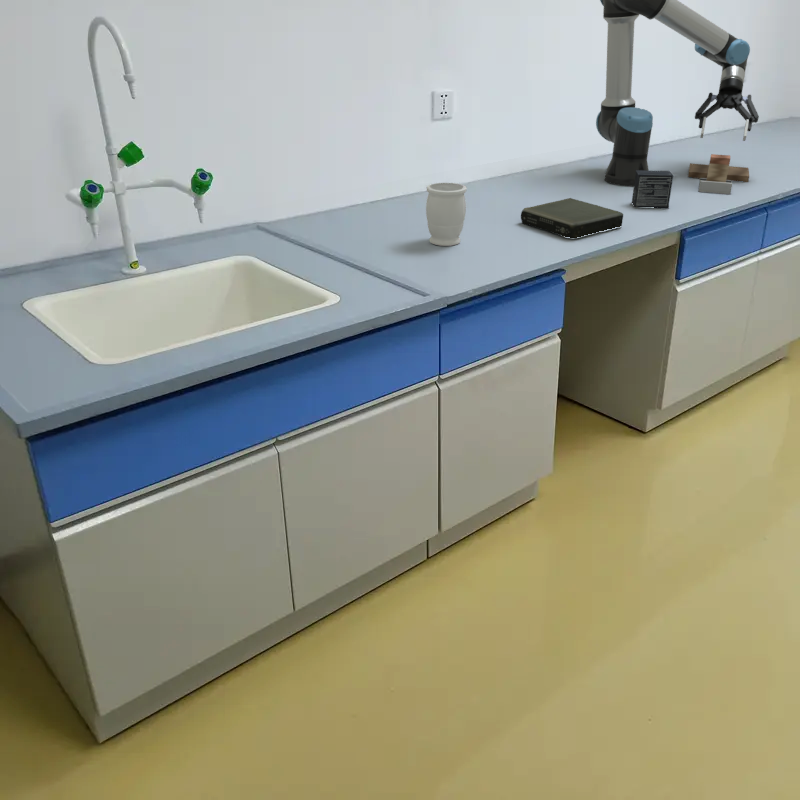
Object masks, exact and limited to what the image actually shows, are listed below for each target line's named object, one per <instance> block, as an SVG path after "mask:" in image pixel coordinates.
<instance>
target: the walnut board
mask: <svg viewBox="0 0 800 800" xmlns="http://www.w3.org/2000/svg"><path fill="white" fill-rule="evenodd" d="M708 169H709V164H702V163H689V167H688V174H687V178H688V177H692V178H691V179H700V178H707V174H708ZM749 179H750V171H749V167H744V166H743V167H741V166H731V165H729V169H728V174H727V179H726V180H732V182H739V181H743V183H749Z"/></svg>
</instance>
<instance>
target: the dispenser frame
mask: <svg viewBox="0 0 800 800" xmlns="http://www.w3.org/2000/svg"><path fill="white" fill-rule="evenodd" d="M706 180H707V178H699V184H698V192H699V193H709V194H710V193H711V194H722V195H731V192H732V188H733V181H732V180H726V182H715V181H706Z"/></svg>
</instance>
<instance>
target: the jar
mask: <svg viewBox="0 0 800 800" xmlns="http://www.w3.org/2000/svg"><path fill="white" fill-rule="evenodd" d="M467 189H468V188H467V186H466V185H464V184H461V183H455V182H438V183H437V182H436V183H435V182H434V183H431V184H428V185H427V186H426V191H427V193H428V194H427V197H426V205H425V214H426V221H427V229H428V232H429V234H430V235H431V236H430V238H429V242H430V243H431V244H433V245H436V246H441V247H450V246H451V247H452V246H456V245H458V244H460V243H461V238H460V236H461V233H462V231H463V228H464V223H465V217H466V212H467V202H466V195H465V193H466V192H467Z"/></svg>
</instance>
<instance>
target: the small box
mask: <svg viewBox="0 0 800 800" xmlns="http://www.w3.org/2000/svg"><path fill="white" fill-rule="evenodd" d="M673 179H674V174H673V173H672V172H671V171H670V170H649V171H643V170H636V173H635V181H634V186H633V188H632V190H633V191H632V199H631V204H632V203H633V205H634V206H633V205H632V206H633V208H634V207H654V208H653V209H661V208H668V209H669V208H670V199H671V192H672V186H673Z"/></svg>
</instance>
